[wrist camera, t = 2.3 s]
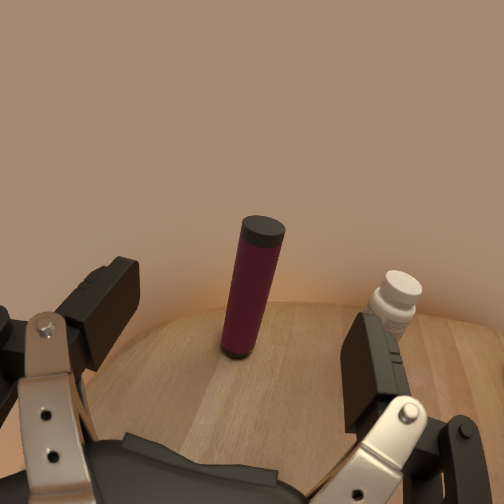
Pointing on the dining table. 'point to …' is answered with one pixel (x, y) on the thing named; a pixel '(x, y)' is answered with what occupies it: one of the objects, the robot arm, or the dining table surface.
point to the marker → (251, 282)
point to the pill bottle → (395, 302)
